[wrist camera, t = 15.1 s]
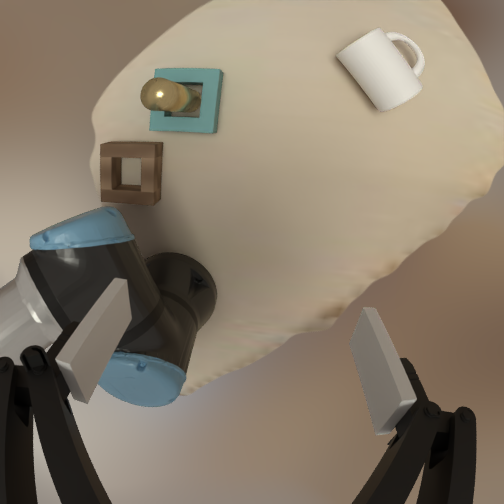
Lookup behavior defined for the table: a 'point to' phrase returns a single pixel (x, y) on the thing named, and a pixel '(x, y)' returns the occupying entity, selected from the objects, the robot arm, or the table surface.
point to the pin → (169, 96)
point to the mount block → (149, 172)
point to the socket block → (209, 101)
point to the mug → (383, 68)
